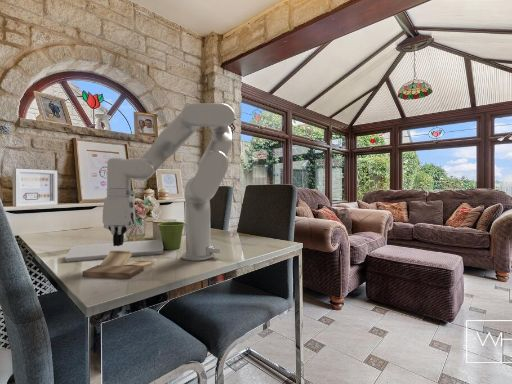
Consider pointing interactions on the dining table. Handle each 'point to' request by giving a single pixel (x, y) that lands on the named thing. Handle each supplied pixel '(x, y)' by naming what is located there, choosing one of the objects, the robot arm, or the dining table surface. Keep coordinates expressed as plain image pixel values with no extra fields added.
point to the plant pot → (171, 234)
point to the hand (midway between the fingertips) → (118, 245)
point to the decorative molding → (104, 249)
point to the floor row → (112, 271)
